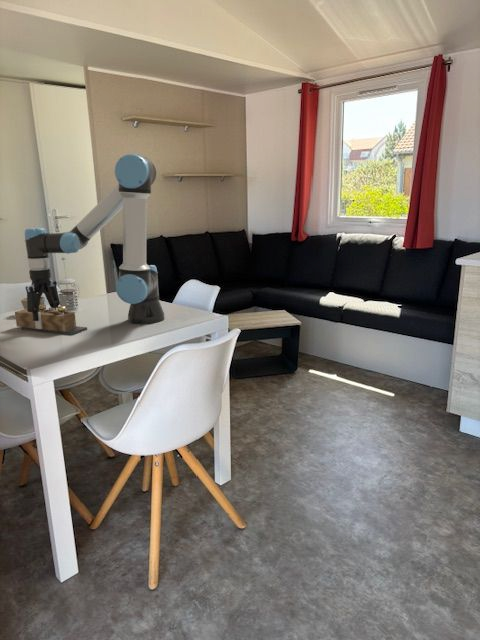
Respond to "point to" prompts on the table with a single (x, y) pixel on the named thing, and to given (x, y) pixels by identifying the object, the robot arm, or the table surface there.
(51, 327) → the wooden compartment box
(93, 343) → the table surface
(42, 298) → the flower pot
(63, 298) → the french press
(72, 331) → the rail
